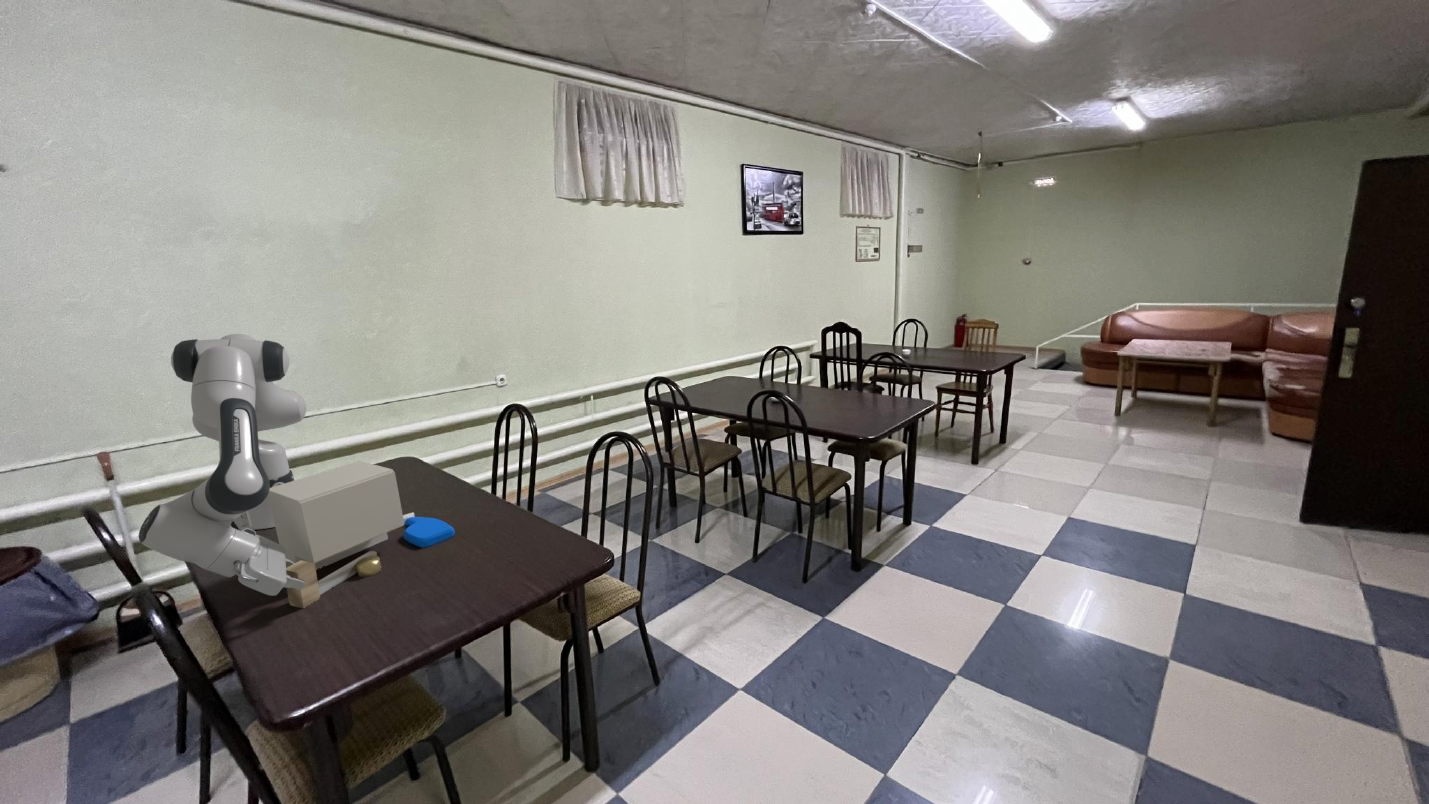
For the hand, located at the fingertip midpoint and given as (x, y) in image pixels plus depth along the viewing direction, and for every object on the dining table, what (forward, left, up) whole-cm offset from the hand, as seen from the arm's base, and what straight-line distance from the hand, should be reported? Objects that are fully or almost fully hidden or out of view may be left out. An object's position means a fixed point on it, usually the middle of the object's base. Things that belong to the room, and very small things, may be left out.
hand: (302, 579), depth 126 cm
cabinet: (-13, +16, -6) cm, 21 cm away
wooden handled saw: (-3, +8, -6) cm, 10 cm away
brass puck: (-1, +14, -6) cm, 15 cm away
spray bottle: (-11, +34, -7) cm, 36 cm away
